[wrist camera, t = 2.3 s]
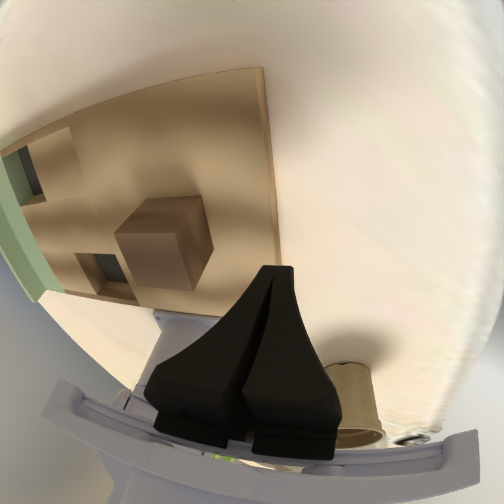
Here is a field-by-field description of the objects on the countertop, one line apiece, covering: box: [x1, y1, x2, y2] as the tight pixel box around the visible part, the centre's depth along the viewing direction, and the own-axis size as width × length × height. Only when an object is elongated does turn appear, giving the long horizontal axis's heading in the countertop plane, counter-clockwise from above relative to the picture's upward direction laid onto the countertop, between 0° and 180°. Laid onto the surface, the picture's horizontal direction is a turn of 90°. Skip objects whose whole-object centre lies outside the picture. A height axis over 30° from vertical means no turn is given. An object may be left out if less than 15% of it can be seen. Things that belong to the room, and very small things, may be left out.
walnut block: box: [113, 195, 214, 292], centre depth 17 cm, size 4×4×4 cm
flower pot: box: [325, 363, 386, 450], centre depth 27 cm, size 9×9×9 cm
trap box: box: [0, 67, 281, 317], centre depth 20 cm, size 18×30×5 cm, turn 97°
